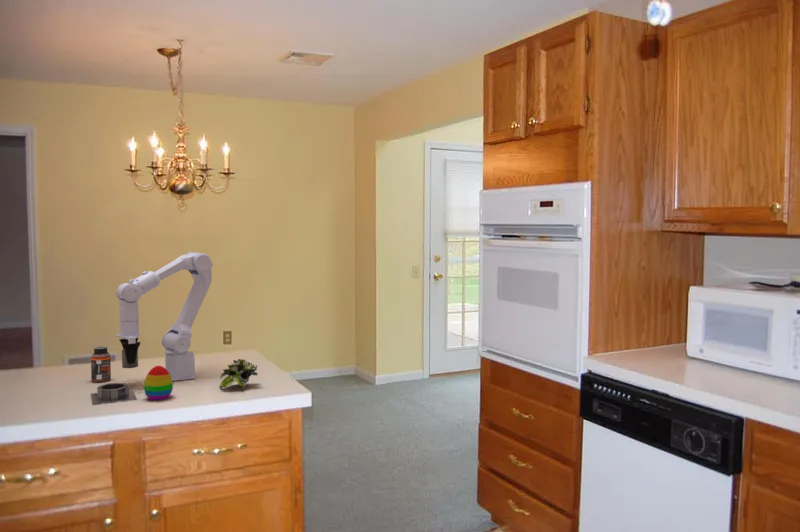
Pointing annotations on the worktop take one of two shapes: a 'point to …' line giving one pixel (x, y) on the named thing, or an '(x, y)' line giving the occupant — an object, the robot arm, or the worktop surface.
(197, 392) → the worktop surface
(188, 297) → the robot arm
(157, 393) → the decorative egg
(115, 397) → the gray square plate
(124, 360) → the cap
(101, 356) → the supplement bottle
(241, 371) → the leafy green plant
